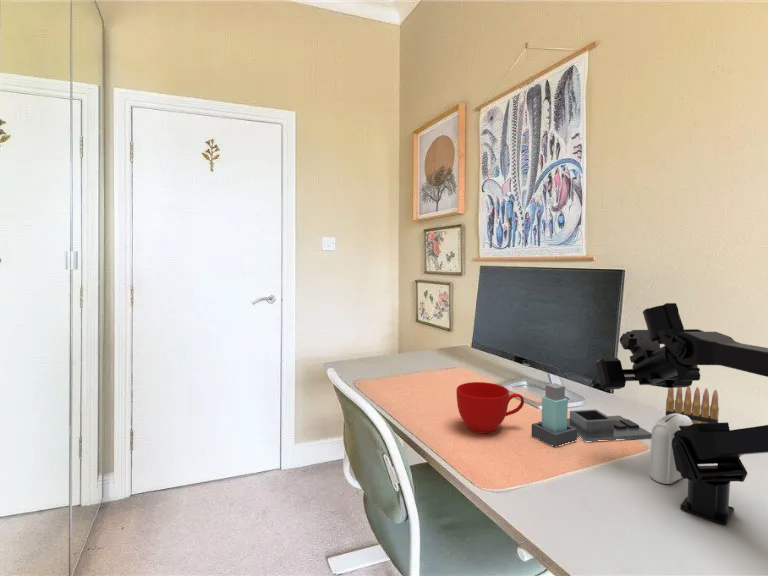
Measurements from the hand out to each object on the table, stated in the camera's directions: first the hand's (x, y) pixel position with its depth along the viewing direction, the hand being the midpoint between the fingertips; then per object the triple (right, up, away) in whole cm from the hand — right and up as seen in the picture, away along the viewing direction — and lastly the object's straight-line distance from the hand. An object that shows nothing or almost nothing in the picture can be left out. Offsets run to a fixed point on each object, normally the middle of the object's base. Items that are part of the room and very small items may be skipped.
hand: (622, 381), depth 100 cm
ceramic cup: (-28, -14, +12) cm, 33 cm away
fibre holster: (-14, -15, +5) cm, 21 cm away
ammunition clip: (+20, -15, +7) cm, 26 cm away
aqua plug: (-14, -15, +5) cm, 21 cm away
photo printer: (+3, -16, -12) cm, 21 cm away
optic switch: (+1, -14, +10) cm, 17 cm away
